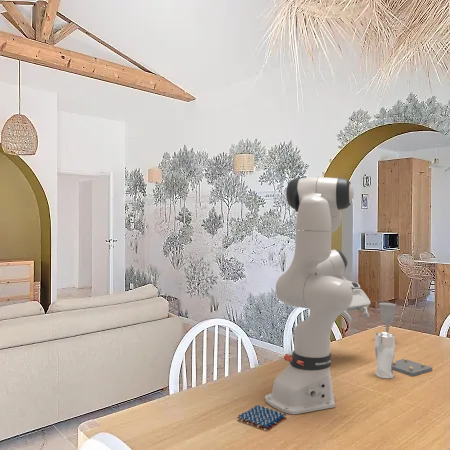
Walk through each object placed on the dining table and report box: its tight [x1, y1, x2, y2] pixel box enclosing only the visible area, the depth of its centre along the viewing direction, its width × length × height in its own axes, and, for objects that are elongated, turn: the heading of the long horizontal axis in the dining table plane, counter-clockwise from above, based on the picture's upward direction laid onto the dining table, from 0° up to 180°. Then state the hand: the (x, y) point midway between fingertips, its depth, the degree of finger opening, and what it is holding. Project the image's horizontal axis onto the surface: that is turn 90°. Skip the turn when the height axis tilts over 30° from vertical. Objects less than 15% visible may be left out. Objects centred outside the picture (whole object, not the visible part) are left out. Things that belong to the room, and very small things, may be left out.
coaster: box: [392, 357, 433, 377], centre depth 167 cm, size 12×12×2 cm
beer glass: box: [374, 331, 396, 379], centre depth 159 cm, size 7×7×15 cm
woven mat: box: [237, 404, 287, 432], centre depth 124 cm, size 10×11×2 cm
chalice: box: [378, 302, 397, 333], centre depth 200 cm, size 7×7×18 cm
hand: (359, 319), depth 169 cm, fingers open, 8 cm apart
